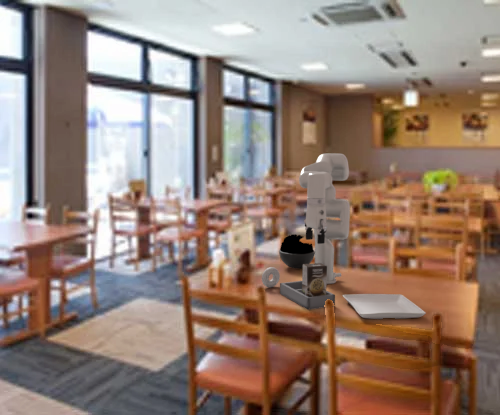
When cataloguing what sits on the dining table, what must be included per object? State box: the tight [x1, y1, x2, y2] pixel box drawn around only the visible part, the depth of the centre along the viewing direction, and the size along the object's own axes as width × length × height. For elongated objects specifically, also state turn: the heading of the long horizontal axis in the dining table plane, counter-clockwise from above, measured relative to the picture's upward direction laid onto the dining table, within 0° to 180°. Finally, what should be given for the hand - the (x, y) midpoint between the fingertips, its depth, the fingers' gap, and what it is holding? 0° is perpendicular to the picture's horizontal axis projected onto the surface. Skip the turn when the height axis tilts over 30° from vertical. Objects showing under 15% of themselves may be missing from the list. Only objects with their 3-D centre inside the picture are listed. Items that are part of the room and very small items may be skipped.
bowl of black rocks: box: [278, 233, 315, 270], centre depth 286 cm, size 20×20×19 cm
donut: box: [261, 266, 280, 288], centre depth 247 cm, size 10×4×10 cm, turn 123°
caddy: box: [279, 280, 336, 310], centre depth 228 cm, size 26×13×5 cm, turn 24°
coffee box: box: [301, 262, 327, 297], centre depth 221 cm, size 9×6×16 cm
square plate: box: [342, 293, 427, 320], centre depth 214 cm, size 27×27×4 cm
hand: (314, 241), depth 219 cm, fingers open, 9 cm apart
